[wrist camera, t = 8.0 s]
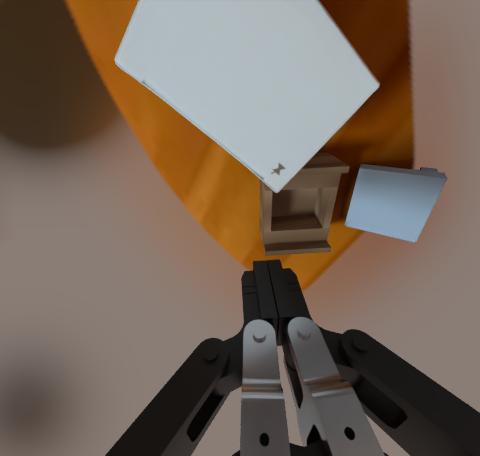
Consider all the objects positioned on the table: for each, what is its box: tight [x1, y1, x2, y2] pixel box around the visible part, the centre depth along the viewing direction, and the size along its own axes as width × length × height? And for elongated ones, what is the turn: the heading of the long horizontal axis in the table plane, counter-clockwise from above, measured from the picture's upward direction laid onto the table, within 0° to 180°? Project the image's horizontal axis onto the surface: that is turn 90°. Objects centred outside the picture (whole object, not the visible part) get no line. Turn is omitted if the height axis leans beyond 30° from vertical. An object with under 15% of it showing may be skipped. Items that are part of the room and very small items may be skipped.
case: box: [260, 152, 350, 256], centre depth 20 cm, size 8×6×4 cm
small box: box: [114, 0, 380, 193], centre depth 12 cm, size 8×6×10 cm
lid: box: [345, 164, 447, 242], centre depth 21 cm, size 6×6×5 cm
